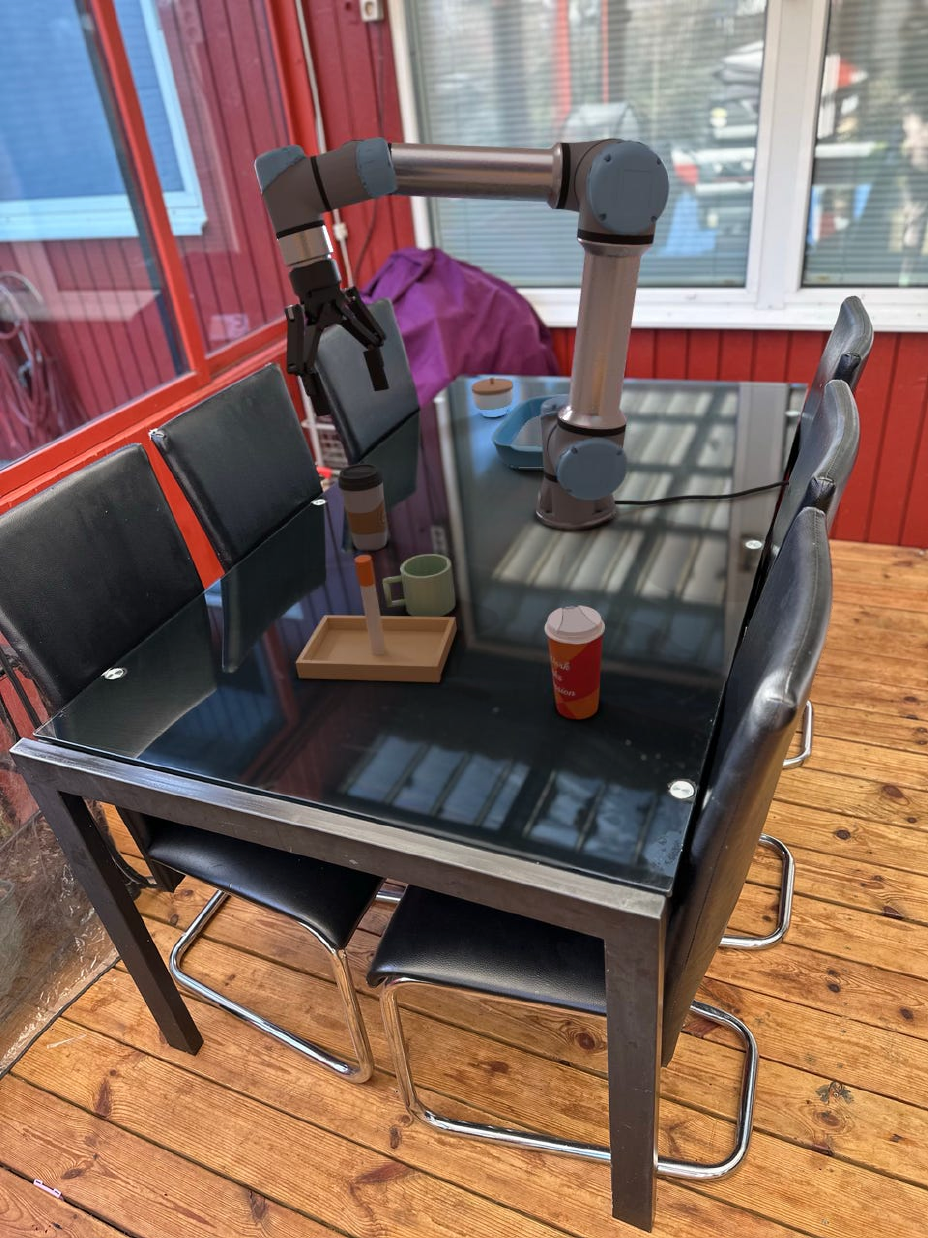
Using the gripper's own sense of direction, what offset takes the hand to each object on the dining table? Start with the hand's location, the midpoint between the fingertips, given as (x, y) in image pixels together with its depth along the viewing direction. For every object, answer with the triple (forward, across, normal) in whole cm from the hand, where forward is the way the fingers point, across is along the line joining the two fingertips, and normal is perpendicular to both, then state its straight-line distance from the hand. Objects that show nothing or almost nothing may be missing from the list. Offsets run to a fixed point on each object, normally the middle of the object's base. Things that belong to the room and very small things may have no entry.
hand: (354, 402), depth 141 cm
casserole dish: (+30, -67, -12) cm, 74 cm away
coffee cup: (+29, -10, -18) cm, 35 cm away
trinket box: (+24, -82, -39) cm, 94 cm away
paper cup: (+42, +16, +41) cm, 61 cm away
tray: (+35, +19, +9) cm, 40 cm away
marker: (+34, +19, +9) cm, 40 cm away
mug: (+34, +5, +6) cm, 35 cm away
